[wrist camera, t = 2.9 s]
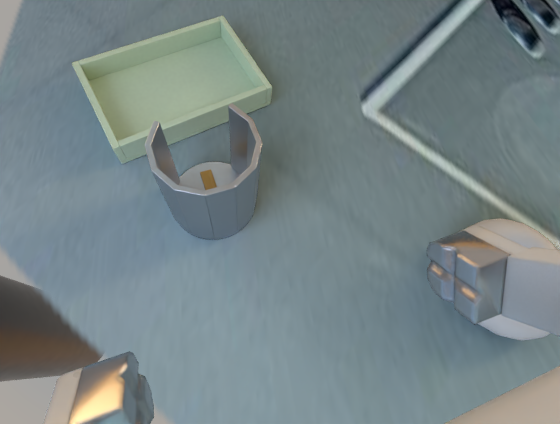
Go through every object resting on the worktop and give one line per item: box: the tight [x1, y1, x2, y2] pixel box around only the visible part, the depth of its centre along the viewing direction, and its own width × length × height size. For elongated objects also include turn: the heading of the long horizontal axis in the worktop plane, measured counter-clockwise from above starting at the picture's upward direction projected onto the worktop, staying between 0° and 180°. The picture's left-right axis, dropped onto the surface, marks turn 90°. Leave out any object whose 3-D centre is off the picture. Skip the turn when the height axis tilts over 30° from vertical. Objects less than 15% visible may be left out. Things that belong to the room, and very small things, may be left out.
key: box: [200, 169, 217, 190], centre depth 30 cm, size 5×2×1 cm, turn 20°
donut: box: [467, 219, 557, 340], centre depth 29 cm, size 10×3×10 cm
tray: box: [72, 16, 272, 164], centre depth 34 cm, size 15×10×2 cm
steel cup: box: [145, 103, 262, 240], centre depth 27 cm, size 7×7×9 cm
